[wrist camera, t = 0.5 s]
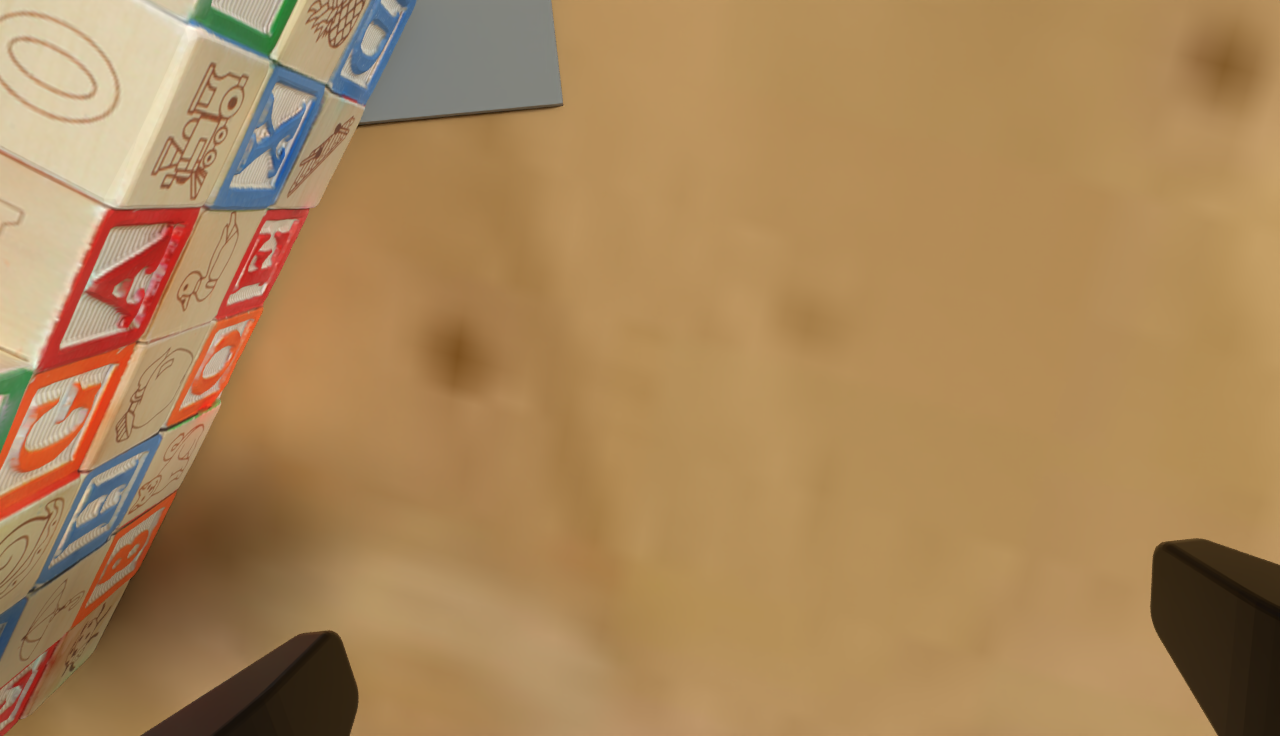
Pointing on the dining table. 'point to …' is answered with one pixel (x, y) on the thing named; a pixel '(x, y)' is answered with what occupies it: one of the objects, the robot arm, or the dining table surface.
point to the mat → (469, 61)
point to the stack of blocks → (142, 268)
